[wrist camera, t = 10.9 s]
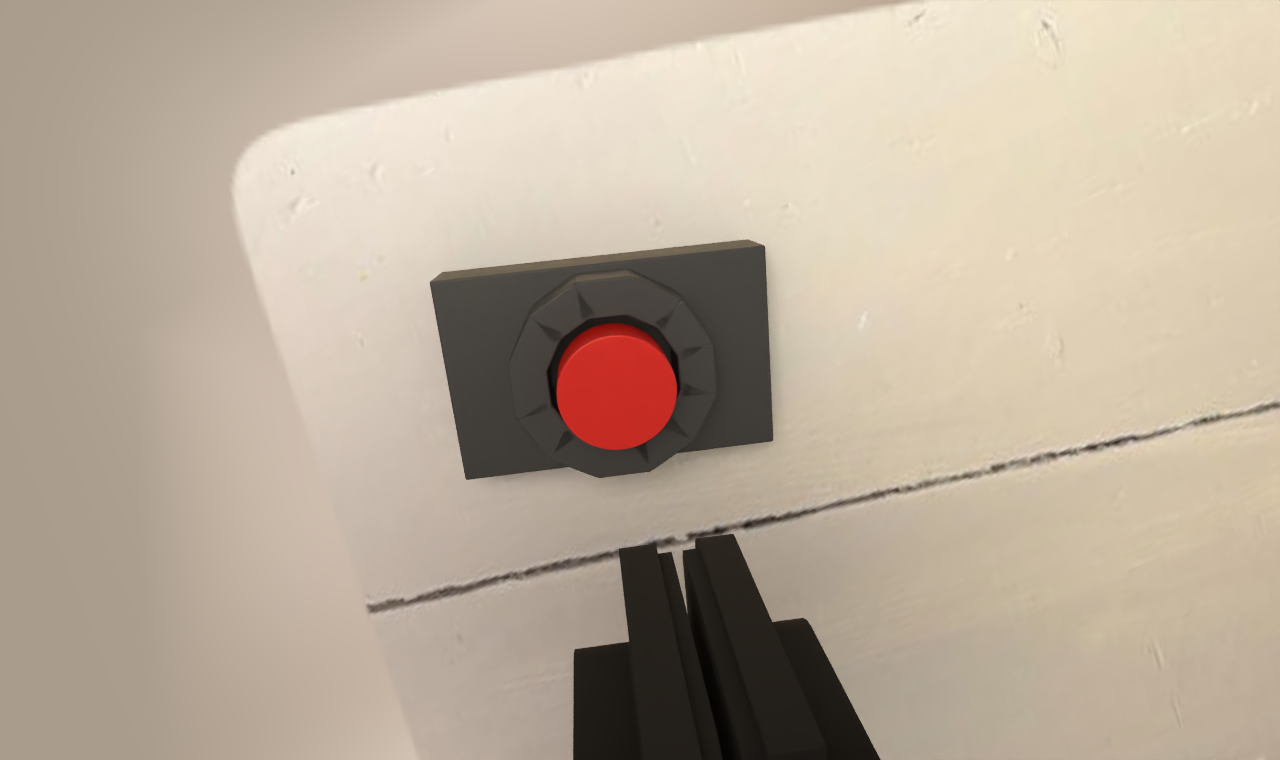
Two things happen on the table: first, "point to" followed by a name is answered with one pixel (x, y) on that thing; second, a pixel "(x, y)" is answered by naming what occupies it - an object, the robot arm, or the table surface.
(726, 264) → the button block
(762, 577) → the table surface
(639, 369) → the red button
